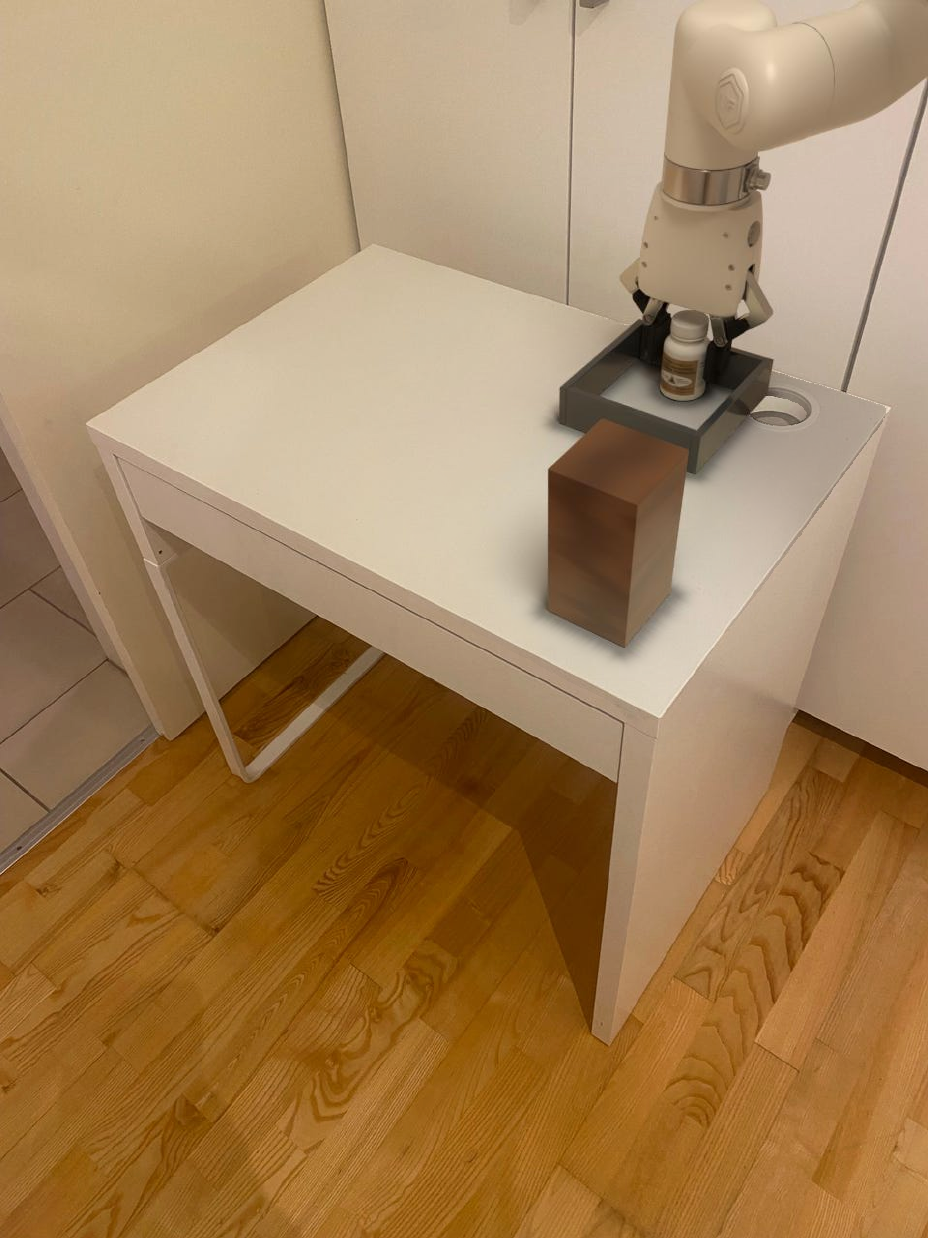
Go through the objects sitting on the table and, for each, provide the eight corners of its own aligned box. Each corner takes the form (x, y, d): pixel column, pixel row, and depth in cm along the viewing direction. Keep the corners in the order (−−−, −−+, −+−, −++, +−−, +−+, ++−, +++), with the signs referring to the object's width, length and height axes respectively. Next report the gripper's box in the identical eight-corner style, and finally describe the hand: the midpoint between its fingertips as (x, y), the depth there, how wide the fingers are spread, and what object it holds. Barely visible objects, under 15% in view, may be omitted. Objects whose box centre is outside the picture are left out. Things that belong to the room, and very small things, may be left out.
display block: (670, 593, 76) (689, 449, 65) (624, 648, 72) (637, 505, 62) (594, 559, 79) (601, 417, 69) (547, 610, 75) (547, 468, 65)
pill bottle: (651, 393, 95) (657, 322, 89) (673, 372, 97) (680, 302, 91) (691, 407, 93) (700, 335, 87) (712, 385, 95) (723, 314, 89)
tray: (766, 395, 93) (774, 359, 90) (695, 474, 86) (700, 437, 83) (636, 353, 100) (638, 318, 97) (558, 422, 92) (559, 387, 89)
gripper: (825, 179, 78) (784, 373, 91) (640, 141, 85) (627, 325, 99) (785, 214, 74) (749, 412, 87) (595, 171, 81) (588, 359, 95)
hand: (685, 364), depth 93 cm, fingers open, 5 cm apart
